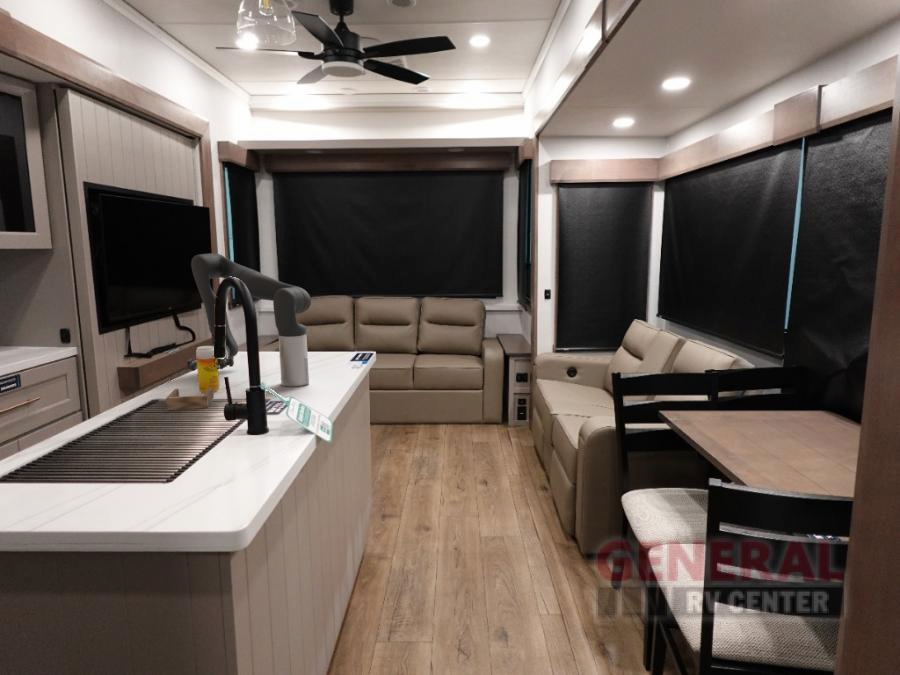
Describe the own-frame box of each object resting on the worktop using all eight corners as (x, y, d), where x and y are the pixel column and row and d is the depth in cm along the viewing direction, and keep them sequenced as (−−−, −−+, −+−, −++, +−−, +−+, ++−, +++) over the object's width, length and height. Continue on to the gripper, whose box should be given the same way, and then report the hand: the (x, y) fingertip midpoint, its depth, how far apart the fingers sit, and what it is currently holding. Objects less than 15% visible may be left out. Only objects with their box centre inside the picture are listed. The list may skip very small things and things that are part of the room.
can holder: (213, 397, 173) (212, 386, 173) (207, 407, 163) (206, 395, 162) (175, 400, 171) (174, 388, 170) (167, 410, 160) (165, 398, 159)
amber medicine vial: (214, 394, 177) (211, 348, 174) (196, 394, 177) (192, 348, 174) (222, 389, 183) (219, 345, 180) (204, 389, 183) (201, 345, 180)
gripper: (193, 347, 191) (182, 356, 176) (236, 345, 194) (229, 354, 179) (194, 368, 192) (184, 379, 177) (237, 366, 196) (231, 376, 180)
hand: (207, 366), depth 178 cm, fingers open, 8 cm apart
